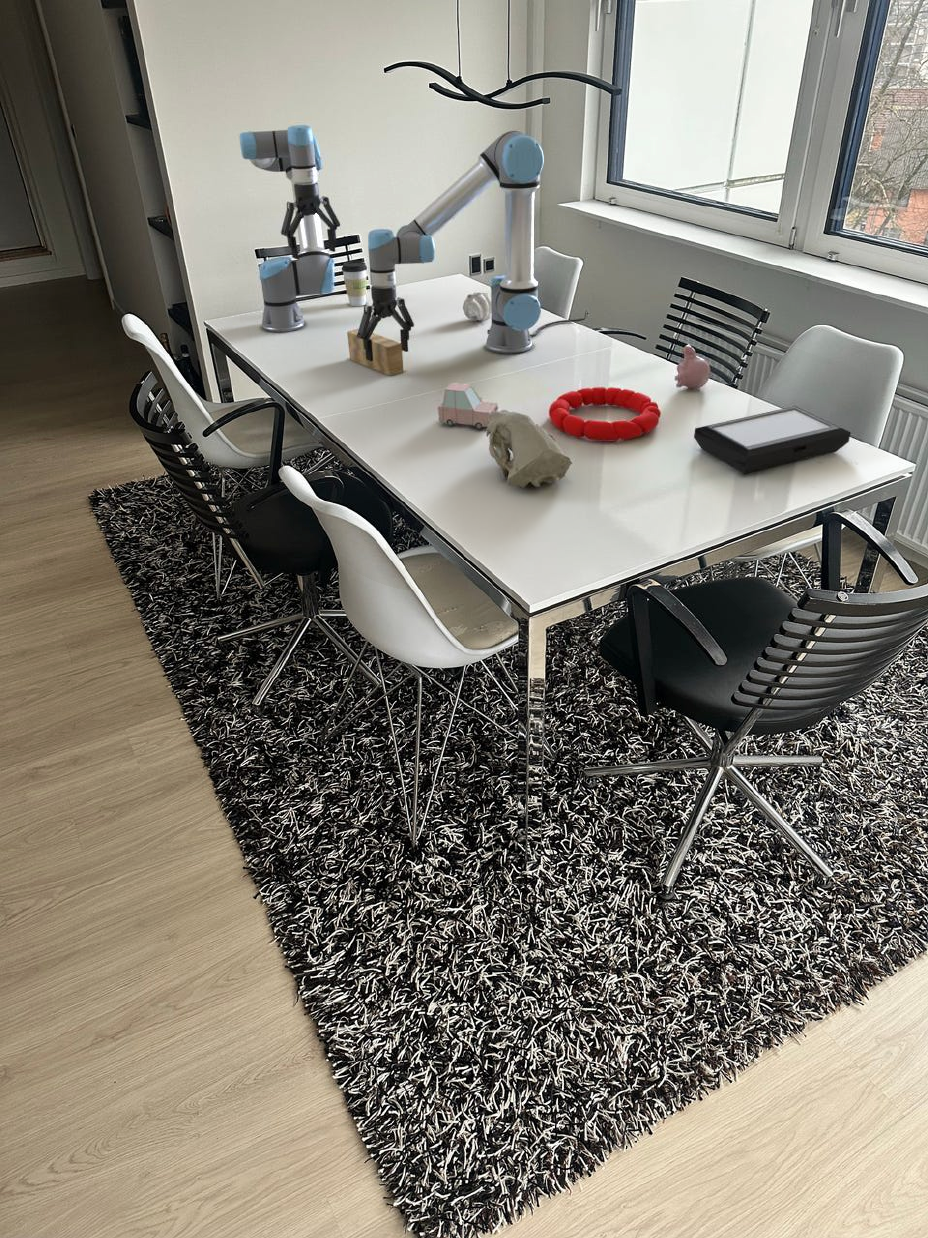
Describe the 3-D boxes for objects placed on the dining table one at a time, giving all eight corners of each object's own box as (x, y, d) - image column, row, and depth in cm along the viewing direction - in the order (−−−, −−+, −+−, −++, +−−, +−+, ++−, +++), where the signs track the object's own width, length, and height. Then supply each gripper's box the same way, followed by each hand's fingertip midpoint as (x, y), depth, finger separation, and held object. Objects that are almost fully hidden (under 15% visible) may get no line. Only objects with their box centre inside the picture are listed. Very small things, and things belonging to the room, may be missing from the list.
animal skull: (496, 517, 219) (521, 479, 201) (463, 429, 225) (484, 384, 207) (557, 503, 225) (586, 465, 206) (523, 417, 231) (549, 373, 212)
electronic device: (746, 454, 209) (695, 425, 224) (742, 478, 212) (692, 448, 228) (851, 429, 219) (795, 402, 234) (846, 452, 223) (791, 425, 238)
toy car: (488, 432, 240) (488, 396, 234) (436, 426, 244) (434, 390, 239) (499, 419, 247) (499, 384, 241) (448, 413, 252) (447, 379, 246)
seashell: (455, 320, 326) (454, 292, 321) (490, 313, 332) (490, 286, 326) (468, 327, 319) (468, 298, 313) (504, 320, 325) (504, 292, 319)
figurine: (665, 387, 264) (669, 347, 257) (693, 380, 268) (698, 340, 261) (686, 396, 257) (690, 355, 250) (714, 388, 262) (720, 348, 255)
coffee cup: (368, 306, 344) (365, 266, 336) (343, 307, 345) (339, 267, 336) (371, 300, 352) (368, 260, 344) (346, 300, 353) (342, 260, 344)
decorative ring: (589, 435, 224) (684, 402, 234) (527, 398, 247) (617, 369, 256) (589, 461, 229) (683, 427, 238) (529, 422, 251) (617, 393, 260)
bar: (349, 359, 294) (347, 331, 289) (362, 355, 297) (360, 328, 292) (390, 375, 280) (388, 347, 274) (403, 371, 282) (401, 343, 277)
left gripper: (274, 189, 268) (284, 263, 280) (346, 178, 279) (353, 249, 292) (263, 186, 273) (274, 258, 285) (334, 175, 284) (341, 245, 297)
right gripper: (356, 295, 259) (361, 366, 271) (423, 280, 273) (425, 349, 285) (341, 290, 264) (347, 360, 276) (408, 276, 277) (411, 344, 289)
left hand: (314, 254), depth 288 cm, fingers open, 13 cm apart
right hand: (387, 355), depth 280 cm, fingers open, 13 cm apart
